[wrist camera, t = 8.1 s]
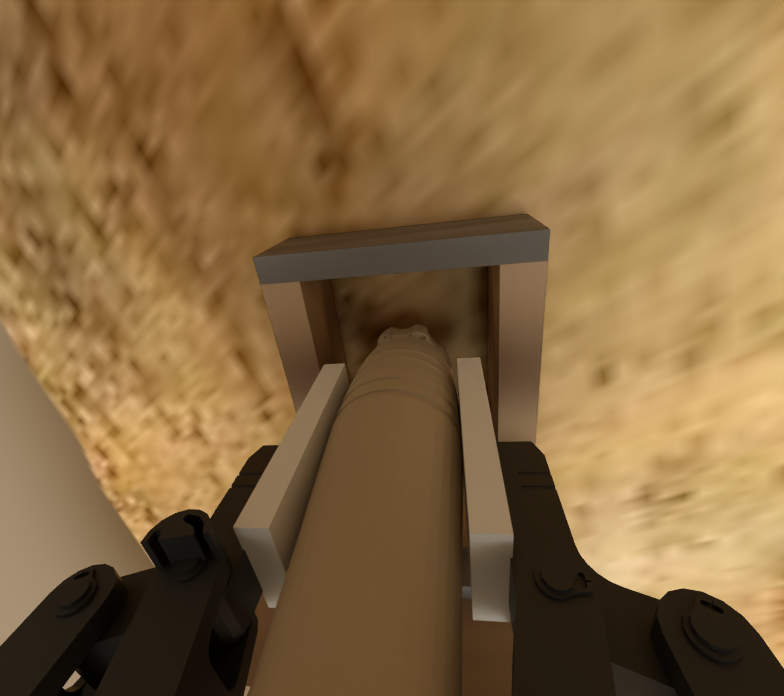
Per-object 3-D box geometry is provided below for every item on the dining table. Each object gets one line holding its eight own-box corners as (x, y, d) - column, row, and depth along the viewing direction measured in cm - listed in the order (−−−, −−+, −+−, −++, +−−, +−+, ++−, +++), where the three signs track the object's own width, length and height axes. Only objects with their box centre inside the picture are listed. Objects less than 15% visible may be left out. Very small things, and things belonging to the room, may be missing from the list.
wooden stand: (288, 238, 16) (6, 390, 6) (527, 213, 15) (745, 359, 4) (343, 475, 23) (256, 759, 12) (516, 475, 21) (593, 803, 10)
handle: (370, 419, 18) (166, 1176, 5) (338, 291, 15) (-398, 1266, 2) (473, 411, 17) (588, 1319, 4) (460, 274, 14) (715, 1916, 1)
